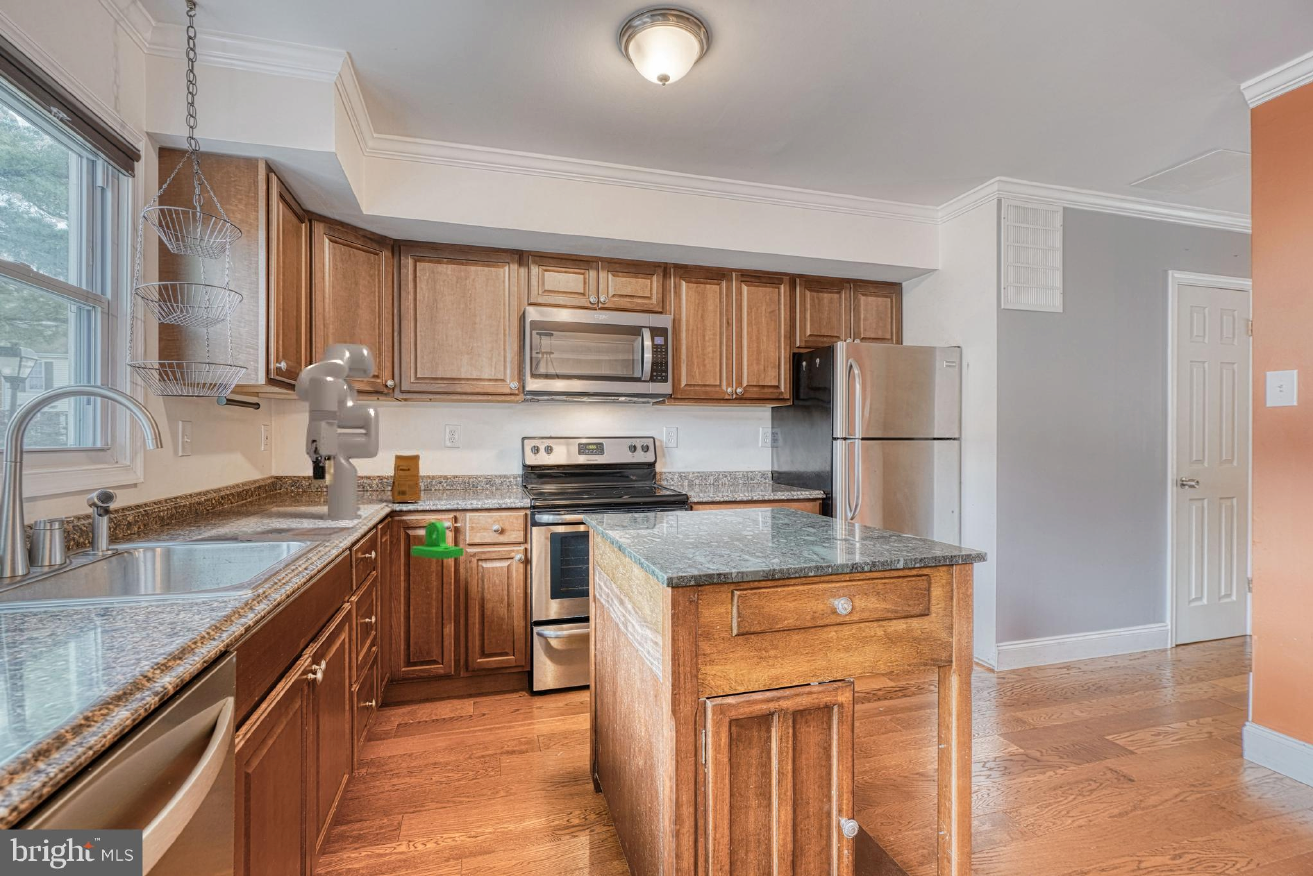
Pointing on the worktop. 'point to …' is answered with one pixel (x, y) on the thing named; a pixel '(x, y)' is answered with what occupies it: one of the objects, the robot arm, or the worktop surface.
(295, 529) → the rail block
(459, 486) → the worktop surface
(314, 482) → the wooden cube
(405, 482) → the coffee package
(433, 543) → the mechanical part
